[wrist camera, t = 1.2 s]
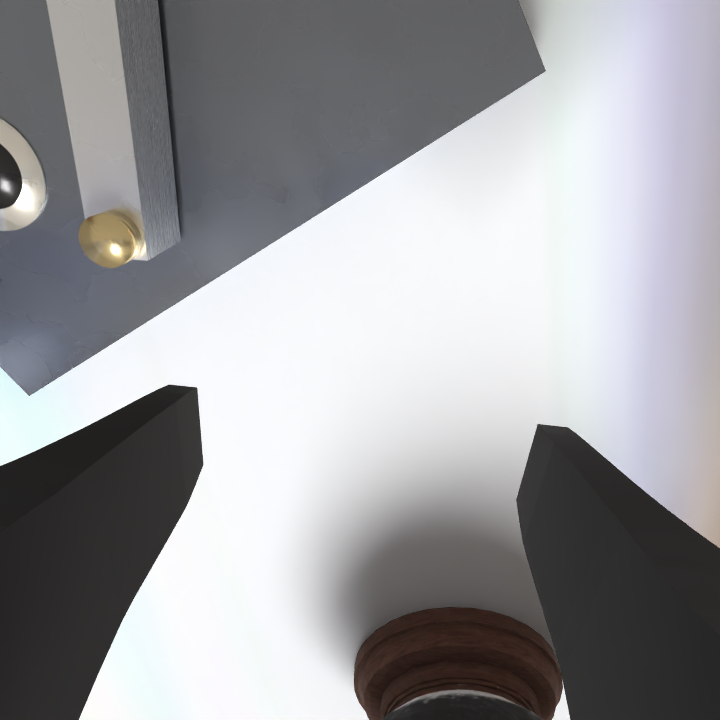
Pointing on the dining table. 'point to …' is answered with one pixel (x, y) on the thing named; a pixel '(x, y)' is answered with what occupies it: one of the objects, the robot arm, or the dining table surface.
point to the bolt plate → (229, 144)
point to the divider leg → (118, 126)
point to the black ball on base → (457, 668)
